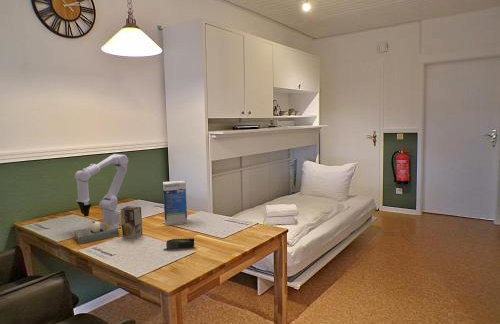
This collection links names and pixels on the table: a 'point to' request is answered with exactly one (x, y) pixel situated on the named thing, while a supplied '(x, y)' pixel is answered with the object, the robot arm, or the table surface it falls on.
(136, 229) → the coffee box
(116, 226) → the port cover
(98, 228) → the cream can
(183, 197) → the string lights box
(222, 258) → the table surface
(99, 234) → the grey flat block
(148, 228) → the table surface
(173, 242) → the mobile phone
